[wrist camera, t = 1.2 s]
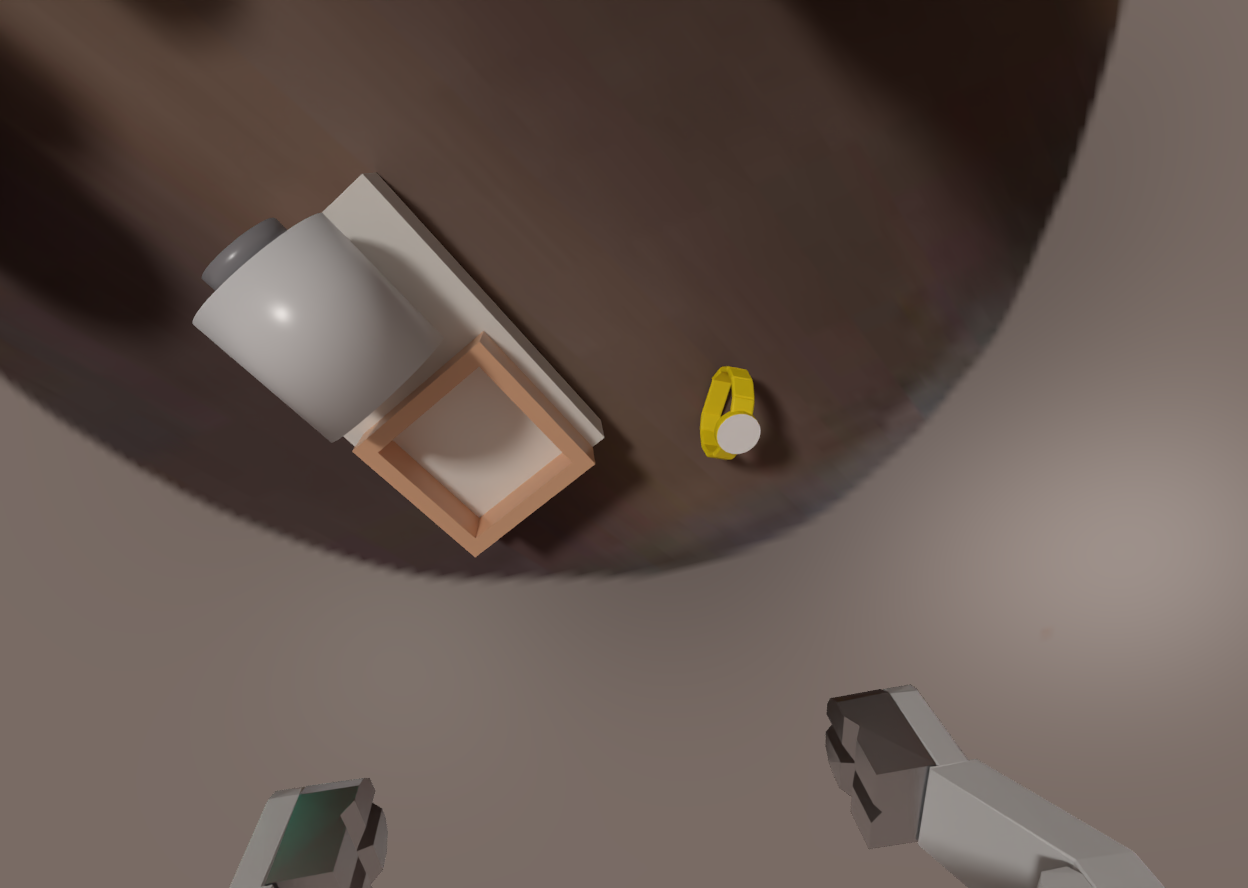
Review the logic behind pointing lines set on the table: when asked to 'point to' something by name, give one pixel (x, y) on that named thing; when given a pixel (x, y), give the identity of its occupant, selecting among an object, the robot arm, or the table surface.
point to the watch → (729, 415)
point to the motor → (401, 361)
